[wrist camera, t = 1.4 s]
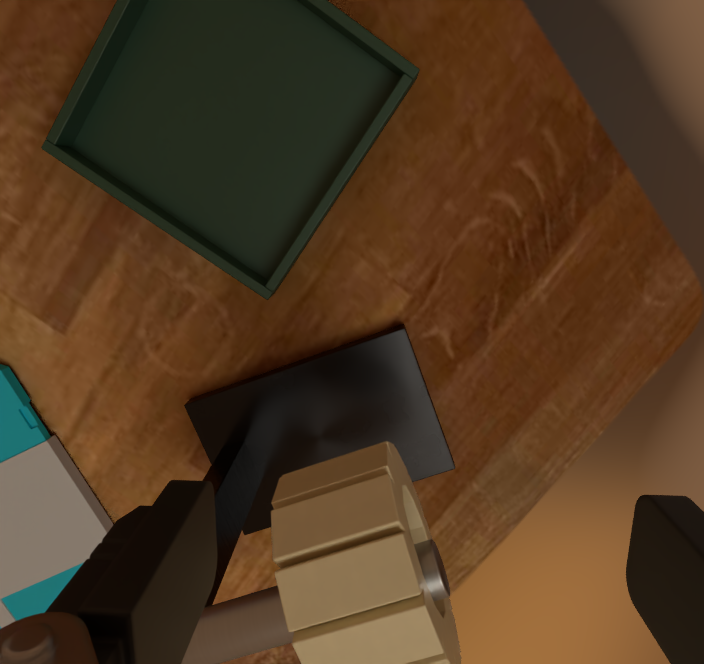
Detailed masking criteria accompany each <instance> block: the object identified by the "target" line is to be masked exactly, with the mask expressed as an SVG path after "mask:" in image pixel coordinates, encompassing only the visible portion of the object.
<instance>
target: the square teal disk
mask: <svg viewBox="0 0 704 664" xmlns="http://www.w3.org/2000/svg"><path fill="white" fill-rule="evenodd" d="M30 401H31V400H30V398H29V397H28V395H27V394H26V392H25V391H24V389H23V388H22V386H21V385H20V383H19V382H18V380H17V378H16V377H15V375H14V374H13V372H12V371H11V369H10V368H9V367H8V366H5V365H2V364H0V629H1V628H3V627H5V626H7V625H9V624H11V623H12V622H15V621H17V620H20V619H22V618H25V617H28V616H31V615H35V614H40V613H45V611H46V610H47V609H48V608H49V606H50V605H51V604H52V602H53V601H54V600H55V599H56V597H57V596H58V595H59V594H60V592H61V591H62V590H63V589H64V587H65V586H66V585H67V583H68V582H69V581H70V580H71V578H72V577H73V576H74V575H75V573H76V572H77V571H78V569H79V568H80V567H81V566H82V564H83V563H84V562H85V561H86V559H89V558H90V554H91V553H92V552H93V550H94V549H95V548H96V547H97V545H98V544H99V543H102V539H103V538H104V536H105V535H106V534H107V533H108V531H109V530H110V529H111V528H112V526H113V523H112V521H111V520H110V518H109V517H108V515H107V514H106V512H105V511H104V509H103V508H102V506H101V505H100V503H99V501H98V500H97V498H96V497H95V495H94V494H93V492H92V491H91V489H90V488H89V486H88V485H87V483H86V481H85V480H84V478H83V477H82V475H81V474H80V472H79V471H78V469H77V468H76V466H75V465H74V463H73V462H72V460H71V458H70V457H69V455H68V454H67V452H66V451H65V449H64V448H63V446H62V445H61V443H60V442H59V440H58V438H57V437H56V435H53V436H50V434H49V433H48V431H47V430H46V428H45V427H44V425H43V424H42V422H41V421H40V419H39V418H38V416H37V414H36V413H35V411H34V410H33V408H32V407H31V405H30V404H29V402H30Z"/></svg>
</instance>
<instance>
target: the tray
mask: <svg viewBox="0 0 704 664" xmlns="http://www.w3.org/2000/svg"><path fill="white" fill-rule="evenodd" d="M418 73H419V68H417V67H416V66H415V65H413V64H412V63H411V62H409V61H408V60H406V59H405V58H404V57H402V56H401V55H400V54H398V53H397V52H396V51H394V50H393V49H392V48H390V47H389V46H388V45H386V44H385V43H384V42H382V41H381V40H380V39H378V38H377V37H376V36H374V35H373V34H372V33H370V32H369V31H368V30H366V29H365V28H364V27H362V26H361V25H360V24H358V23H357V22H356V21H354V20H353V19H352V18H350V17H349V16H348V15H346V14H345V13H344V12H342V11H341V10H339V9H338V8H337V7H335V6H334V5H333V4H331V3H330V2H329V1H327V0H117V2H116V4H115V5H114V7H113V9H112V11H111V13H110V15H109V17H108V19H107V21H106V23H105V25H104V27H103V29H102V31H101V33H100V35H99V37H98V39H97V41H96V42H95V44H94V46H93V48H92V50H91V52H90V54H89V56H88V58H87V60H86V62H85V64H84V66H83V68H82V70H81V72H80V74H79V76H78V77H77V79H76V81H75V83H74V85H73V87H72V89H71V91H70V93H69V95H68V97H67V99H66V101H65V103H64V105H63V107H62V109H61V111H60V112H59V114H58V116H57V118H56V120H55V122H54V124H53V126H52V128H51V130H50V132H49V134H48V136H47V138H46V139H47V140H45V142H44V144H43V146H42V149H43V150H44V151H46V152H47V153H49V154H50V155H52V156H53V157H55V158H56V159H58V160H59V161H61V162H62V163H64V164H65V165H67V166H68V167H70V168H71V169H73V170H74V171H76V172H77V173H79V174H80V175H82V176H83V177H85V178H86V179H88V180H89V181H91V182H92V183H94V184H95V185H97V186H98V187H100V188H101V189H103V190H104V191H106V192H107V193H109V194H110V195H112V196H113V197H114V198H116V199H117V200H119V201H120V202H122V203H123V204H125V205H126V206H128V207H129V208H131V209H132V210H134V211H135V212H137V213H138V214H140V215H141V216H143V217H144V218H146V219H147V220H149V221H150V222H152V223H153V224H155V225H156V226H158V227H159V228H161V229H162V230H164V231H165V232H167V233H168V234H170V235H171V236H173V237H174V238H176V239H177V240H179V241H180V242H182V243H183V244H185V245H186V246H187V247H189V248H190V249H192V250H193V251H195V252H196V253H198V254H199V255H201V256H202V257H204V258H205V259H207V260H208V261H210V262H211V263H213V264H214V265H216V266H217V267H219V268H220V269H222V270H223V271H225V272H226V273H228V274H229V275H231V276H232V277H234V278H235V279H237V280H238V281H240V282H241V283H243V284H244V285H246V286H247V287H249V288H250V289H252V290H253V291H255V292H256V293H257V294H259V295H260V296H262V297H263V298H265V299H266V300H268V299H269V298H270V297H271V296H272V295H273V294H274V293H275V292H276V290H277V289H278V287H279V286H280V284H281V283H282V281H283V280H284V278H285V277H286V275H287V274H288V272H289V271H290V269H291V268H292V266H293V265H294V263H295V262H296V260H297V259H298V257H299V256H300V254H301V253H302V251H303V250H304V248H305V247H306V245H307V244H308V242H309V241H310V239H311V238H312V236H313V234H314V233H315V231H316V230H317V228H318V227H319V225H320V224H321V222H322V221H323V219H324V218H325V216H326V215H327V213H328V212H329V210H330V209H331V207H332V206H333V204H334V203H335V201H336V200H337V198H338V197H339V195H340V194H341V192H342V191H343V189H344V188H345V186H346V185H347V183H348V182H349V180H350V179H351V177H352V176H353V174H354V172H355V171H356V169H357V168H358V166H359V165H360V163H361V162H362V160H363V159H364V157H365V156H366V154H367V153H368V151H369V150H370V148H371V147H372V145H373V144H374V142H375V141H376V139H377V138H378V136H379V135H380V133H381V132H382V130H383V129H384V127H385V126H386V124H387V123H388V121H389V120H390V118H391V117H392V115H393V113H394V112H395V110H396V109H397V107H398V106H399V104H400V103H401V101H402V100H403V98H404V97H405V95H406V94H407V92H408V91H409V89H410V88H411V86H412V85H413V83H414V82H415V80H416V79H417V76H418Z"/></svg>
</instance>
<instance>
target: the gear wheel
mask: <svg viewBox="0 0 704 664" xmlns="http://www.w3.org/2000/svg"><path fill="white" fill-rule="evenodd" d="M271 504H272V506H273V508H274V510H272V511H271V528H272V553H273V561H274V562H275V563H276V564H277V565H278V566H279V567H280V568H281V569H279V570H277V571H275V577H276V582H277V586H278V590H279V595H280V599H281V603H282V607H283V612H284V616H285V620H286V625H287V629H288V631H289V632H293V631H294V635H293V641H292V645H293V647H294V649H295V651H296V653H297V655H298V658H299V660H300V662H301V664H461V655H460V652H461V651H460V646H459V641H458V636H457V630H456V625H455V619H454V616H453V613H452V611H451V610H452V606H451V603H450V599H449V597H448V598H445V599H441V600H438V601H433V598H432V596H431V593H430V591H429V588H428V586H427V583H426V581H425V578H424V576H423V573H422V569H421V566H420V563H419V560H418V556H417V553H416V550H415V547H414V544H417V543H420V542H423V541H427V540H430V539H432V537H431V533H430V530H429V527H428V524H427V521H426V518H425V517H424V516H423V509H422V506H421V504H420V501H419V499H418V496H417V493H416V491H415V488H414V485H413V483H412V480H411V478H410V475H408V472H407V468H406V466H405V464H404V462H403V461H402V459H401V457H400V455H399V453H398V451H397V449H396V447H395V446H394V444H392V443H390V442H388V441H385V442H382V443H379V444H376V445H373V446H370V447H366V448H363V449H360V450H357V451H354V452H351V453H348V454H345V455H342V456H339V457H336V458H333V459H330V460H327V461H324V462H321V463H318V464H315V465H311V466H308V467H305V468H302V469H299V470H296V471H293V472H290V473H287V474H284V475H282V477H281V478H279V481H278V484H277V487H276V490H275V493H274V496H273V499H272V502H271Z"/></svg>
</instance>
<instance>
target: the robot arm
mask: <svg viewBox="0 0 704 664" xmlns="http://www.w3.org/2000/svg"><path fill="white" fill-rule="evenodd" d="M216 568H217V537H216V518H215V499H214V488H213V485H212V483H211V482H210V481H187V480H171V481H170V482H169V483H168V484H167V486H166V487H165V488H164V490H163V491H162V493H161V494H160V495H159V497H158V498H157V500H156V501H155V502H154V504H153V505H152V506H139V507H137V508H136V509H134V510H133V511H131V512H130V513H128V514H127V515H125V516H123V517H122V518H120V519H119V520H117V521H116V523H115V524H114V525H113V526H112V528H111V529H110V530H109V531H108V533H107V534H106V535H105V536H104V538H103V539H102V543H99V544H98V545H97V547H96V548H95V549H94V550H93V552H92V553H91V554H90V558H89V559H86V561H85V562H84V563H83V564H82V566H81V567H80V568H79V569H78V571H77V572H76V573H75V575H74V576H73V577H72V578H71V580H70V581H69V582H68V583H67V585H66V586H65V587H64V589H63V590H62V591H61V592H60V594H59V595H58V596H57V597H56V599H55V600H54V601H53V602H52V604H51V605H50V606H49V608H48V609H47V610H46V611H45V613H40V614H35V615H31V616H28V617H25V618H22V619H20V620H17V621H15V622H12V623H11V624H9V625H7V626H5V627H3V628H1V629H0V664H181V663H182V660H183V658H184V655H185V653H186V651H187V648H188V646H189V643H190V641H191V638H192V636H193V634H194V631H195V629H196V626H197V624H198V621H199V619H200V617H201V614H202V612H203V609H204V607H205V604H206V602H207V600H208V597H209V595H210V592H211V590H212V587H213V584H214V580H215V575H216ZM626 579H627V586H628V591H629V594H630V597H631V600H632V602H633V604H634V606H635V608H636V609H637V611H638V613H639V614H640V616H641V617H642V619H643V620H644V622H645V624H646V625H647V627H648V628H649V630H650V631H651V633H652V635H653V636H654V638H655V639H656V641H657V643H658V644H659V646H660V647H661V649H662V651H663V652H664V653H665V655H666V657H667V658H668V660H669V662H670V663H671V664H704V512H703V511H702V510H701V509H700V508H699V507H698V506H697V505H696V504H695V503H694V502H693V501H692V500H691V499H689V498H688V497H686V496H668V495H667V496H666V495H642V496H640V497H639V498H638V500H637V503H636V505H635V512H634V518H633V525H632V532H631V539H630V546H629V552H628V559H627V567H626Z"/></svg>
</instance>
